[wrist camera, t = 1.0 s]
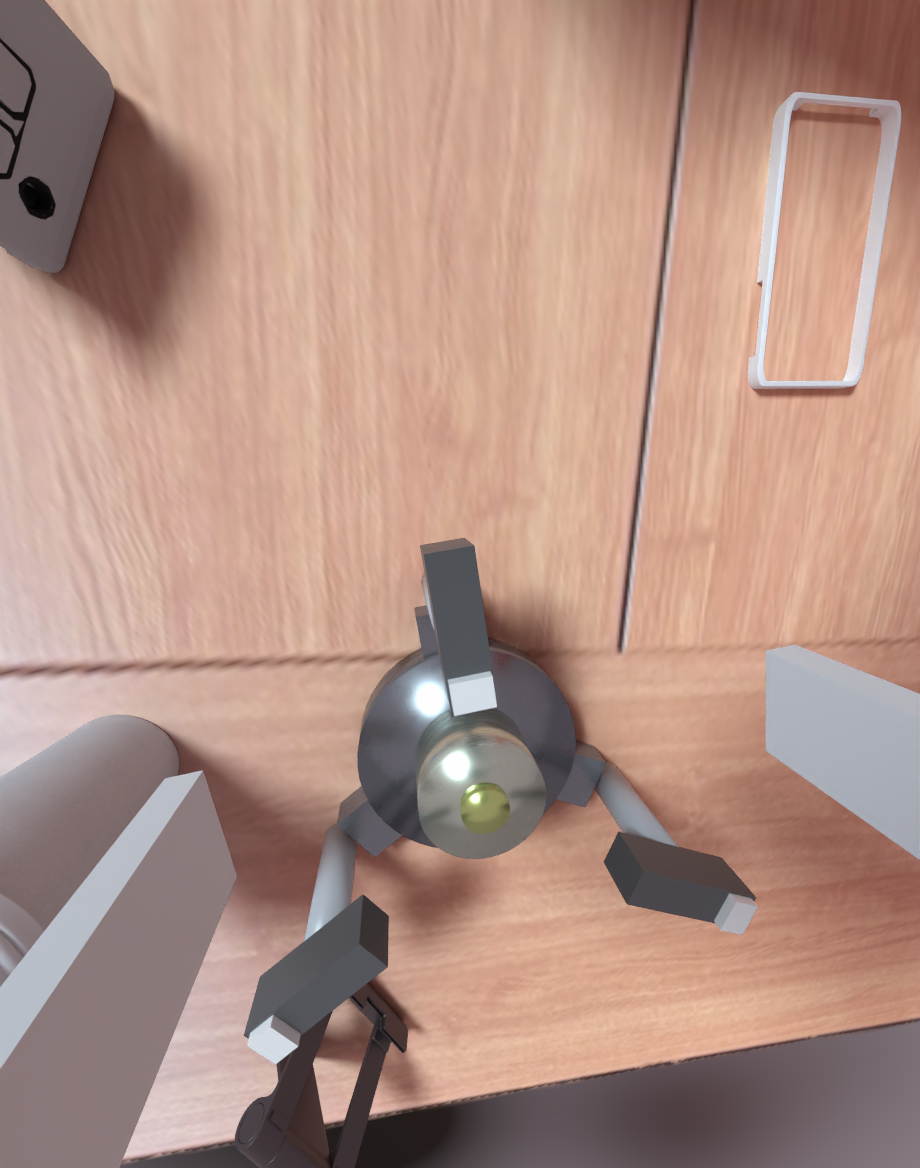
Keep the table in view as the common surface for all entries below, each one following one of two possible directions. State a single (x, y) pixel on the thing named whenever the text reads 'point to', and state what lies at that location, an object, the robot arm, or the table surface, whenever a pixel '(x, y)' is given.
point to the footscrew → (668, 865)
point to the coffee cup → (70, 819)
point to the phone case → (890, 127)
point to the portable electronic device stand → (317, 1098)
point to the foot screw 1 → (320, 956)
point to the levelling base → (429, 699)
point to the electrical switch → (46, 131)
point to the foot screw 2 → (459, 624)
